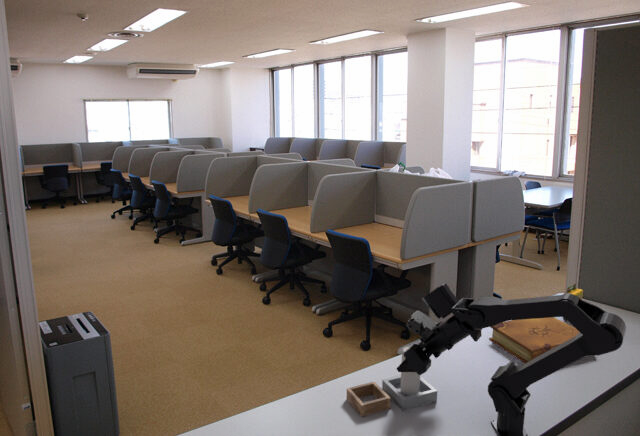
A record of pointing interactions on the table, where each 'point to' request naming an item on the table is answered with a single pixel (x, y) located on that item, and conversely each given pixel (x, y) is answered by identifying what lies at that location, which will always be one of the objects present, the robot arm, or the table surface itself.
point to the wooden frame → (371, 406)
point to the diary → (531, 336)
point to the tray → (408, 402)
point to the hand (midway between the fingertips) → (405, 362)
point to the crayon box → (575, 291)
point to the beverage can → (409, 379)
